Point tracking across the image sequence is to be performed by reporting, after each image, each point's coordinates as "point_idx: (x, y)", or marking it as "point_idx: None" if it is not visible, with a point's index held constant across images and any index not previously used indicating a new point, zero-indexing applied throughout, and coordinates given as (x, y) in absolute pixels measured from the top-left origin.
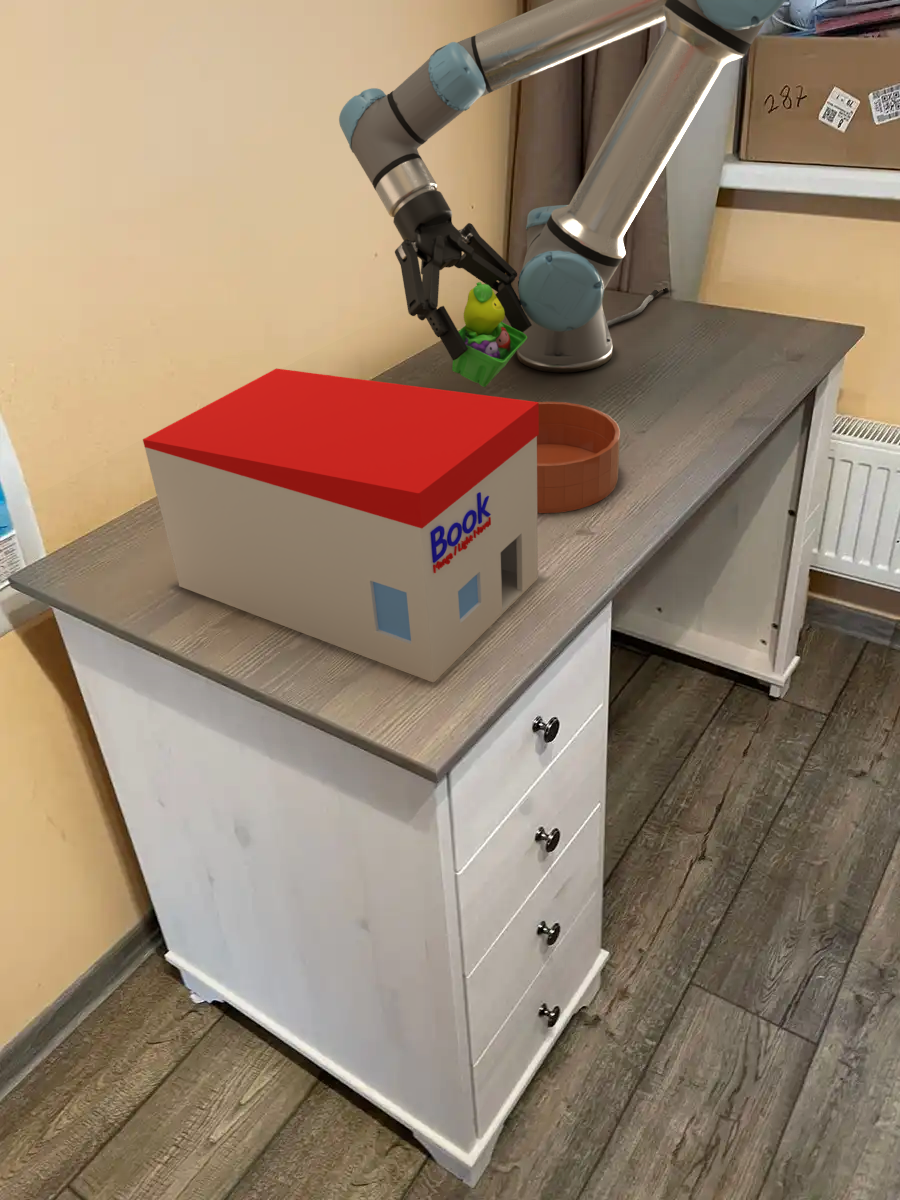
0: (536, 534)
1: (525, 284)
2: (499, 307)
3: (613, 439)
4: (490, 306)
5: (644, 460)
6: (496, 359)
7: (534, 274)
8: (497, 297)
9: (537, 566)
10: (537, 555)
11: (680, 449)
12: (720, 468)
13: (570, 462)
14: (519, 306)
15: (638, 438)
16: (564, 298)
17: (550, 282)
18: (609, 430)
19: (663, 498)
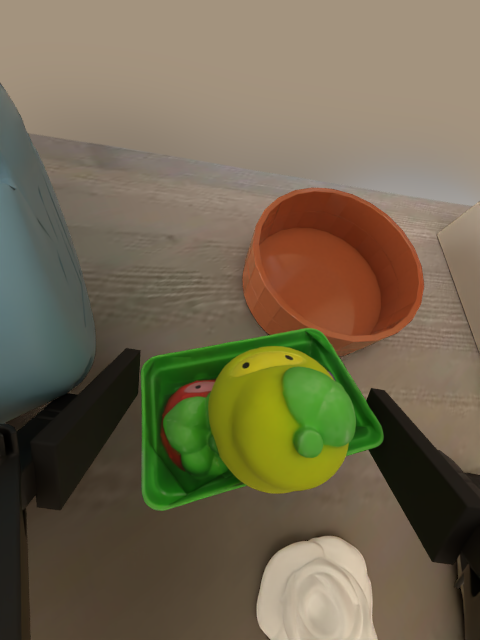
0: (475, 205)
1: (71, 335)
2: (269, 352)
3: (285, 208)
4: (312, 362)
5: (232, 220)
6: (324, 337)
7: (51, 276)
8: (70, 486)
9: (446, 227)
10: (455, 220)
11: (195, 199)
12: (216, 166)
13: (381, 211)
14: (103, 379)
15: (188, 237)
16: (63, 242)
17: (50, 242)
18: (274, 213)
19: (288, 192)
